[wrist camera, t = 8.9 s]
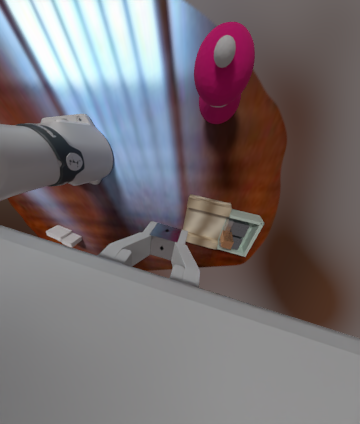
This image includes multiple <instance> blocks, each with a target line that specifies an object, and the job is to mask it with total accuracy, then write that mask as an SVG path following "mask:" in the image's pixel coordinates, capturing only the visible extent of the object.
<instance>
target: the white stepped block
mask: <svg viewBox="0 0 360 424" xmlns="http://www.w3.org/2000/svg"><path fill="white" fill-rule="evenodd" d="M46 233H47V236H50V237H52V238H54V239H57V240H58V241H60V242H62V244H64V245H67V246H69V247H73V246H75V245H76V244H77V243H79V242H80V241H82V237H81V236H79V235H77V234H74V233H72V231H71V230H69V229H67V228H64V227H62V226H59V225H57V226H55V227H53V228H51V229H49V230H47V231H46Z"/></svg>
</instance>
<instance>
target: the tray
mask: <svg viewBox="0 0 360 424" xmlns="http://www.w3.org/2000/svg"><path fill="white" fill-rule="evenodd" d="M229 218H233V219H237V220H241V221H245V222H248V223H249V225H250V226H249V228H248V230H247V232H246V234H245V236H244V238H243V237H242V238H243V240H242V242H241V244H240V246H239V248H238V250H236V249H232V248H231V250H230V249H226V248H222V247H221V246H219V238H220V236H219V238H218V245H217V249H219V250H222V251H226V252H229V253H233V254H237V255H240V256H244V257H246V255H247V253H248V251H249V249H250V248H251V246H252V244H253V242H254V241H255V239H256V237H257V235H258V234H259V232H260V230H261V228H262V227H263V225H264V222H263V220H262V219H261V217H260V216H259V215H255V214H251V213H246V212H242V211H238V210H234V209H232V210H231V212H230V215H229ZM226 220H227V218H226ZM226 220H225V222H226ZM224 225H225V223H224ZM224 225H223V227H224ZM222 230H223V228H222ZM222 230H221V233H222ZM221 233H220V235H221Z"/></svg>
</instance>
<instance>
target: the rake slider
mask: <svg viewBox="0 0 360 424" xmlns="http://www.w3.org/2000/svg"><path fill="white" fill-rule="evenodd" d="M233 222H234V221H233V218H229V217H227V220H226V222H225V225H224V227H223V230H222V233H221V235H220V238H219V246H221V247H222V248H226V249H230V250H231V248H232V245H233V243H234V241H233V236H232V232H230V229H231V227H232V225H233Z"/></svg>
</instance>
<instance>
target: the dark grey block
mask: <svg viewBox="0 0 360 424" xmlns="http://www.w3.org/2000/svg"><path fill="white" fill-rule="evenodd" d="M233 221H234V222H233V225H232V227H231V229H230V232H232V235H235V236H239V237H243V238H244V236H245V234H246V232H247V230H248V228H249V226H250V225H249V223H248V222H245V221H241V220H237V219H233Z"/></svg>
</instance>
